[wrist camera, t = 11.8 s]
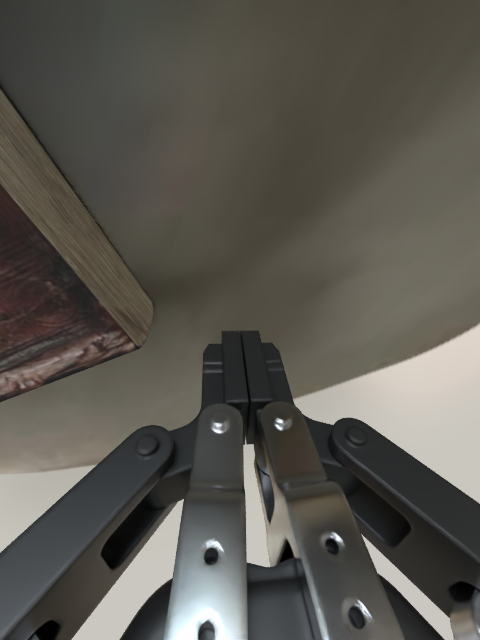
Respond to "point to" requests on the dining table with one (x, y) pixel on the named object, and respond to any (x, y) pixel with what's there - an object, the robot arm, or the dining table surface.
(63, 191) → the hardback book
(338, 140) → the dining table surface
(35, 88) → the dining table surface
